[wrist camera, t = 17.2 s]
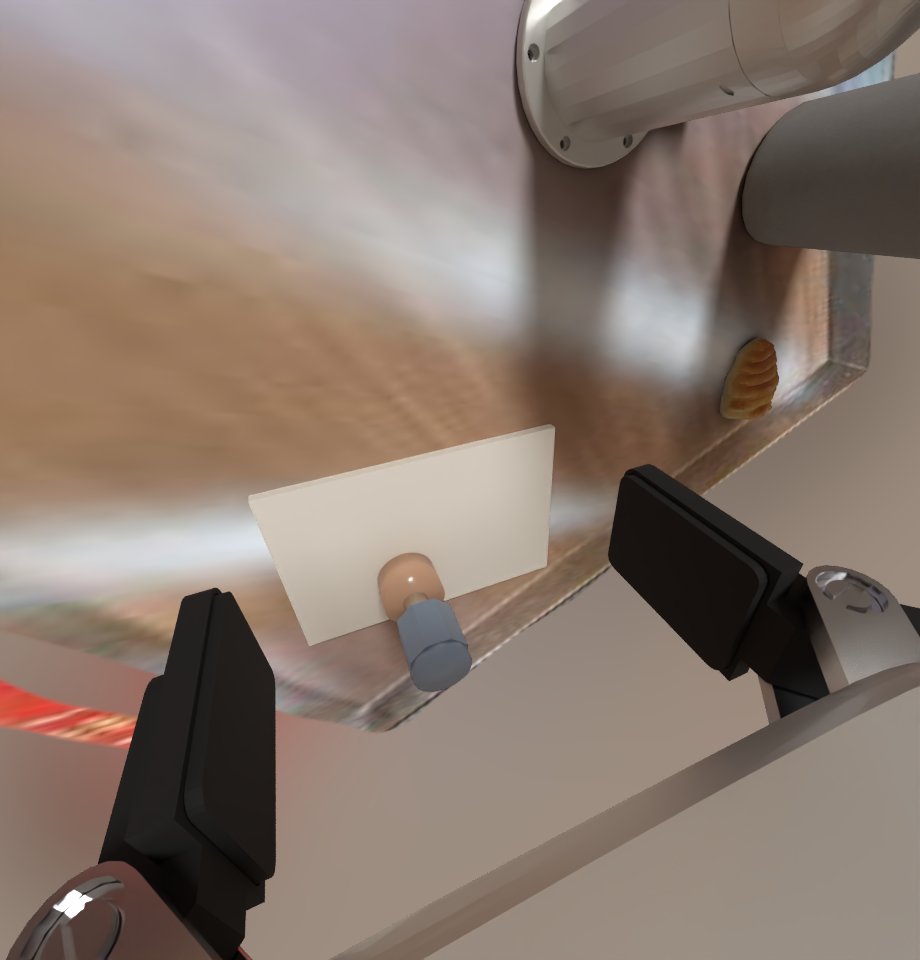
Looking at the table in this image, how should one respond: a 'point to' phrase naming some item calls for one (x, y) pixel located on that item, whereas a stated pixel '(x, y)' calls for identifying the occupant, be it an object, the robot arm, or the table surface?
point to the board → (409, 526)
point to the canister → (841, 174)
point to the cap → (433, 645)
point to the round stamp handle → (408, 583)
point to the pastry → (750, 382)
